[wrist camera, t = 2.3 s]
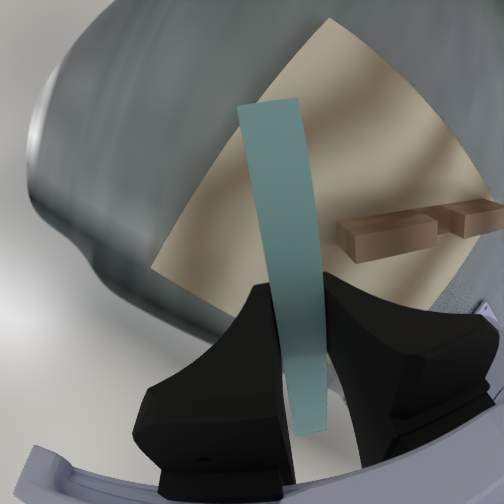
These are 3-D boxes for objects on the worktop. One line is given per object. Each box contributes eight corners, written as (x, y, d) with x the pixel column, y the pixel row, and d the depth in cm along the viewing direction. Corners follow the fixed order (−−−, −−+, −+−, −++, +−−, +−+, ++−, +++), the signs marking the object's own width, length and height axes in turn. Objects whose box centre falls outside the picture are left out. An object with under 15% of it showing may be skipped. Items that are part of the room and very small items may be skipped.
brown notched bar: (483, 198, 16) (508, 207, 13) (483, 217, 16) (506, 227, 13) (336, 221, 16) (354, 236, 13) (338, 245, 17) (355, 264, 14)
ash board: (492, 203, 16) (496, 205, 16) (359, 374, 22) (361, 379, 21) (326, 21, 12) (329, 17, 11) (153, 264, 17) (150, 268, 17)
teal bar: (240, 127, 12) (236, 106, 6) (273, 122, 12) (297, 97, 6) (282, 360, 17) (295, 436, 11) (306, 356, 17) (326, 429, 11)
